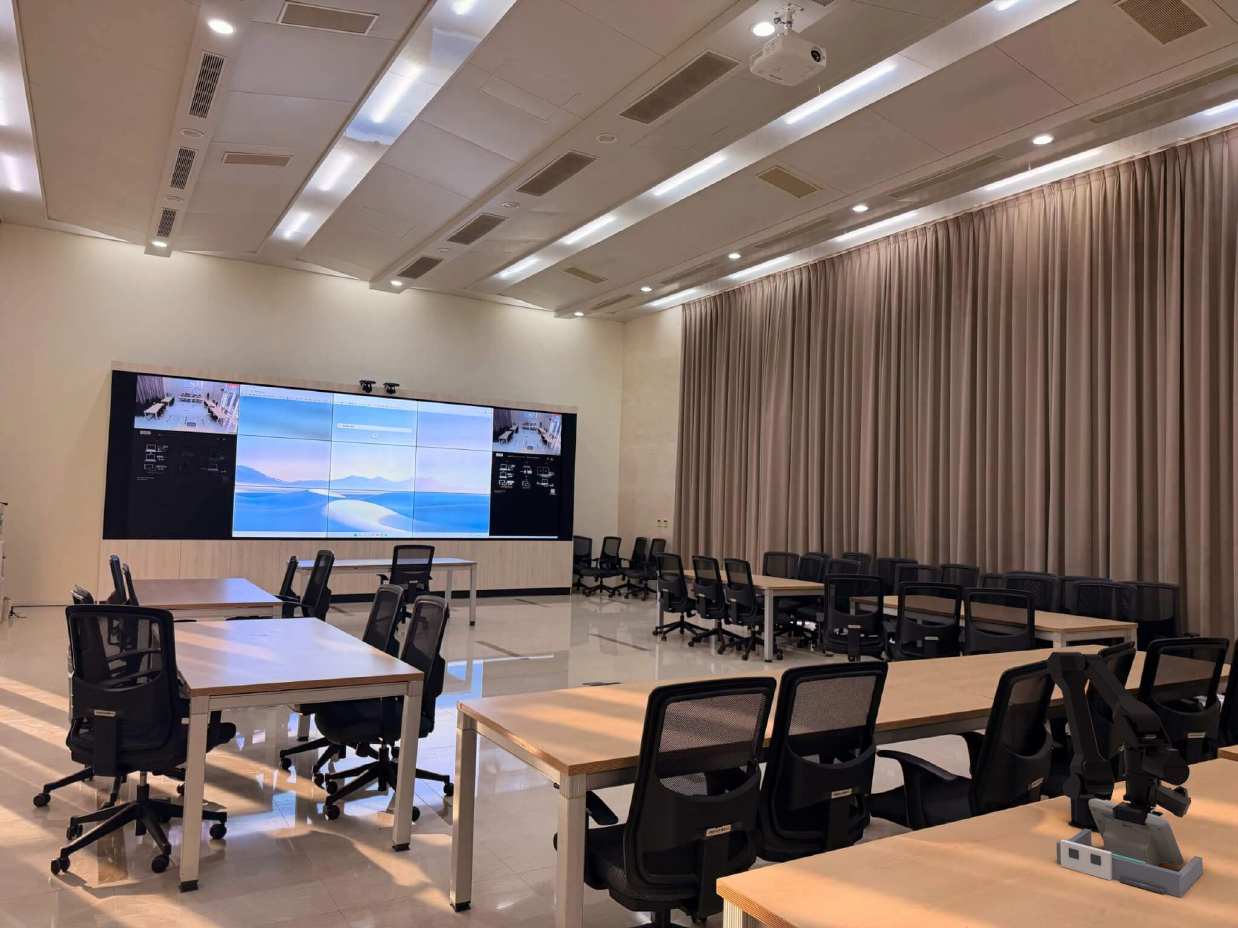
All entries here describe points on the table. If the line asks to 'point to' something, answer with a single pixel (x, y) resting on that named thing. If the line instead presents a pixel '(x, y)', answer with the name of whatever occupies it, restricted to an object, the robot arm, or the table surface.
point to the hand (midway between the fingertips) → (1143, 847)
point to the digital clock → (1136, 836)
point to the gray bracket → (1125, 867)
